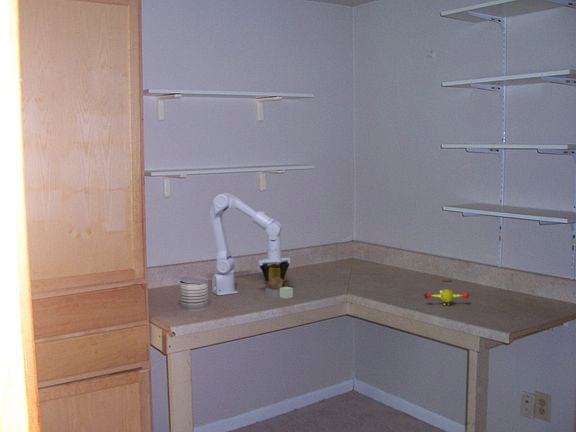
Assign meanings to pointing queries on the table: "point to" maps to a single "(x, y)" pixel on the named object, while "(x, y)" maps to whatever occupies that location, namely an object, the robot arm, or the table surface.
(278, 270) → the flower pot
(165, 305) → the table surface
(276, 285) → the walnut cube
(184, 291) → the can
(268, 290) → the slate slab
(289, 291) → the sage cube
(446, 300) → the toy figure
